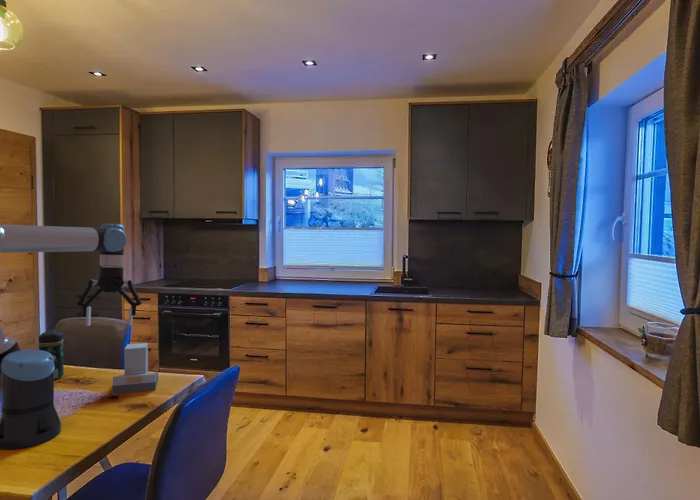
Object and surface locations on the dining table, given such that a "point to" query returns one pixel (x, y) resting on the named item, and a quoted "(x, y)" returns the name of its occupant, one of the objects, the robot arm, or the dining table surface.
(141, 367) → the supplement box
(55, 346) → the coffee jar
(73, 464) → the dining table surface
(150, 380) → the grey display stand
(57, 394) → the dining table surface
